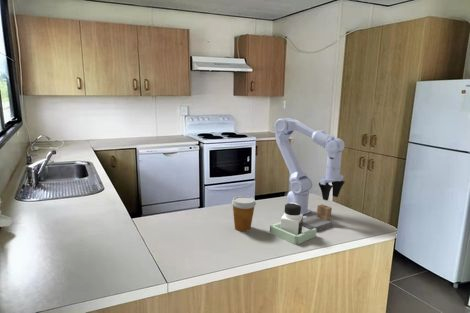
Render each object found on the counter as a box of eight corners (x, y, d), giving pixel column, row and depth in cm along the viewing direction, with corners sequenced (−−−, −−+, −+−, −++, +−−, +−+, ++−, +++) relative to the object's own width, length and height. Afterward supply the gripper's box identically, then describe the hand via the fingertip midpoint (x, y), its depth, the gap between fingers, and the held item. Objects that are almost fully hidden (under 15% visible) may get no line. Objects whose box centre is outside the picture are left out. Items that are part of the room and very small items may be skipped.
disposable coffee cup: (257, 225, 132) (258, 197, 129) (250, 235, 123) (252, 205, 121) (235, 222, 135) (236, 194, 132) (227, 230, 126) (228, 201, 123)
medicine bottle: (298, 239, 121) (300, 208, 118) (279, 235, 123) (281, 205, 121) (302, 232, 127) (304, 203, 125) (284, 228, 130) (286, 200, 127)
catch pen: (269, 232, 125) (270, 225, 125) (289, 225, 133) (289, 218, 133) (296, 245, 116) (297, 237, 115) (316, 236, 124) (316, 228, 123)
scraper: (297, 224, 135) (299, 208, 133) (316, 218, 142) (318, 202, 141) (315, 232, 128) (316, 215, 126) (334, 224, 135) (335, 209, 134)
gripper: (332, 171, 128) (329, 204, 131) (350, 166, 138) (347, 197, 140) (317, 168, 134) (314, 199, 136) (336, 163, 143) (333, 193, 146)
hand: (330, 198), depth 139 cm, fingers open, 7 cm apart
